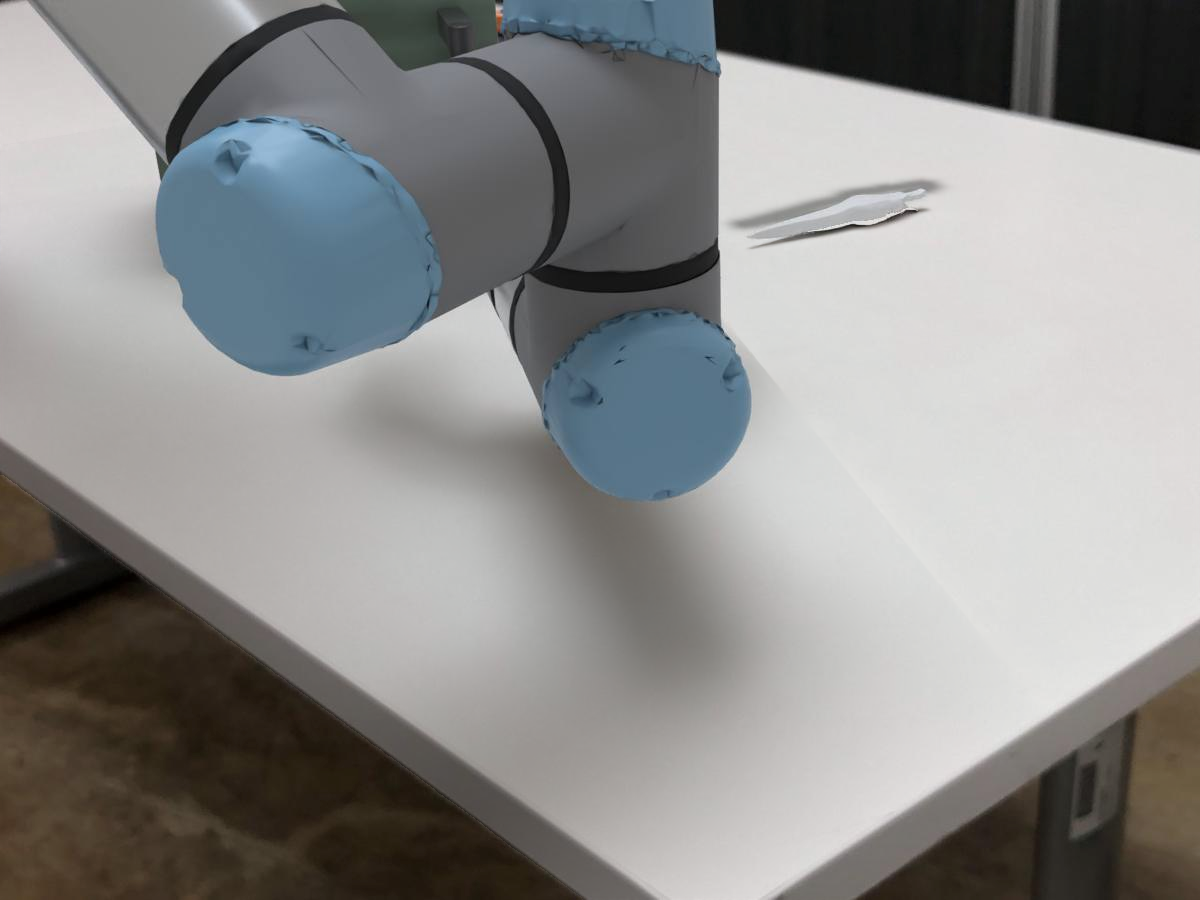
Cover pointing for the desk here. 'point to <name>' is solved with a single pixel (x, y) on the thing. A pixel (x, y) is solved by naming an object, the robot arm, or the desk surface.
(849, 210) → the grey tapered strip
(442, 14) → the cupboard door
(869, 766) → the desk surface
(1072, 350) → the desk surface
